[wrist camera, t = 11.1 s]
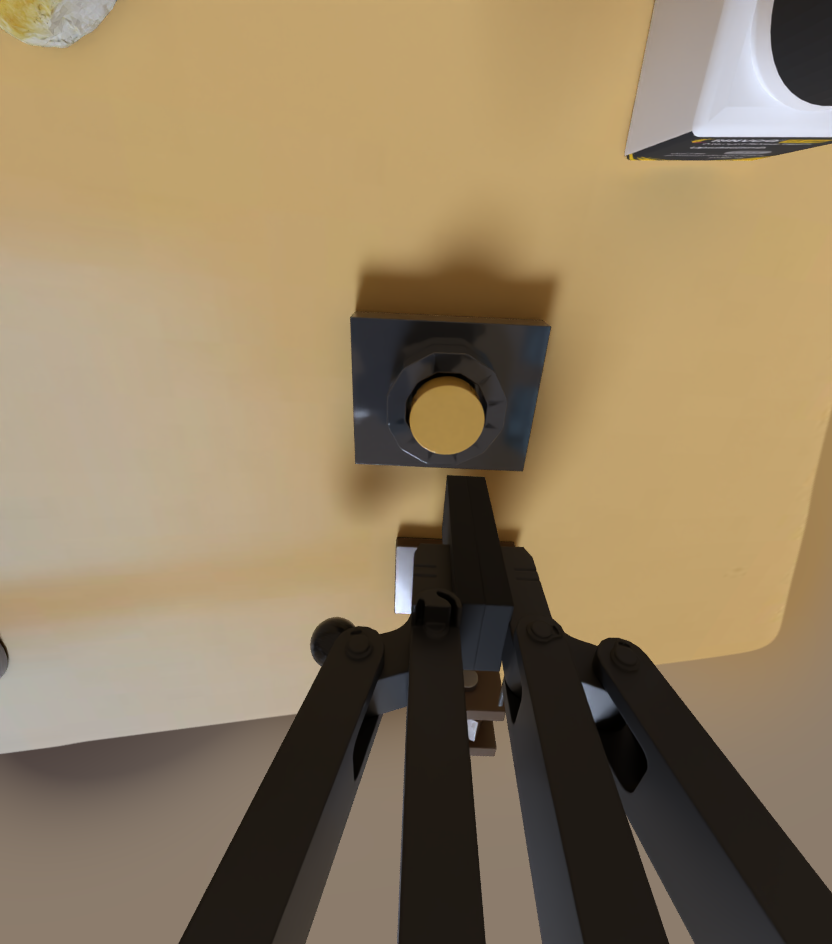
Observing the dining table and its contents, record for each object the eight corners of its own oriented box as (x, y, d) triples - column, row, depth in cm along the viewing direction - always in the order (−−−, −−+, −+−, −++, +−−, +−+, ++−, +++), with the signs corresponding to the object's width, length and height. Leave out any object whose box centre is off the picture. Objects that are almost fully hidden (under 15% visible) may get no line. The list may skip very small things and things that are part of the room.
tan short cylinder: (409, 440, 27) (408, 453, 26) (411, 374, 25) (410, 383, 23) (476, 443, 27) (480, 456, 26) (485, 377, 25) (489, 386, 24)
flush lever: (331, 632, 34) (302, 667, 31) (328, 600, 32) (297, 634, 29) (487, 707, 29) (469, 757, 26) (494, 674, 27) (476, 724, 25)
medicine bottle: (620, 161, 23) (787, 102, 12) (659, -33, 19) (941, -349, 9) (754, 161, 23) (1037, 102, 12) (817, -34, 19) (1294, -352, 9)
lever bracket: (395, 603, 40) (382, 764, 28) (396, 536, 36) (383, 691, 24) (500, 607, 40) (533, 770, 28) (514, 541, 36) (559, 698, 24)
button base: (358, 451, 32) (350, 478, 28) (354, 311, 27) (344, 323, 23) (517, 458, 32) (529, 486, 28) (543, 320, 27) (560, 333, 23)
